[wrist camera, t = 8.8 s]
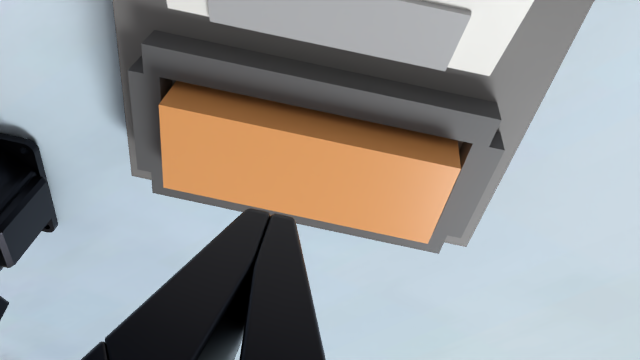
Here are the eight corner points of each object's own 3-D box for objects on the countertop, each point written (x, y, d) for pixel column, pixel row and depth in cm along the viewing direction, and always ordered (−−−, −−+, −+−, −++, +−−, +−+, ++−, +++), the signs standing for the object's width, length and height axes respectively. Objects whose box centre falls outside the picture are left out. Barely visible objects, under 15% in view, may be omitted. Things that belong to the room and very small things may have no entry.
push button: (180, 158, 22) (163, 187, 21) (178, 78, 20) (158, 104, 18) (426, 210, 22) (427, 243, 21) (456, 137, 20) (461, 168, 18)
